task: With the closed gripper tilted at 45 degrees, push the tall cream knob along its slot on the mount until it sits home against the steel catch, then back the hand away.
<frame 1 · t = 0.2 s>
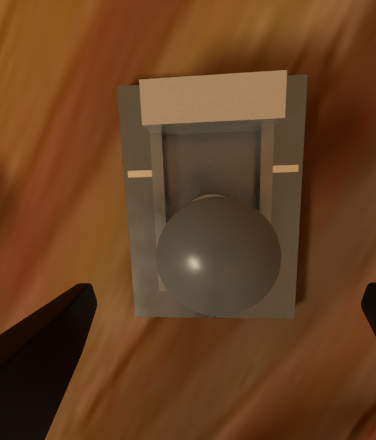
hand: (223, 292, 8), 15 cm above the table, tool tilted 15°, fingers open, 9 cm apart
knob mount: (211, 222, 23), on the table
knob: (213, 238, 17), point 6 cm above the table, slide at 0.0 cm
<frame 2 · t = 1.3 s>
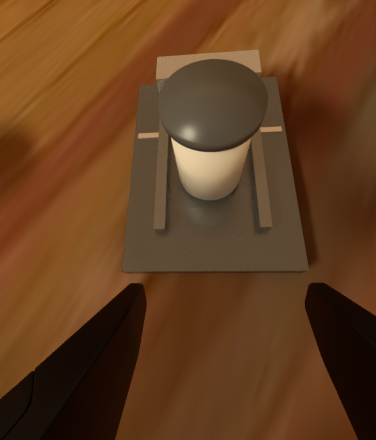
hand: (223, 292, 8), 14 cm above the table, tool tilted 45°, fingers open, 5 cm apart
knob mount: (209, 181, 24), on the table
knob: (210, 143, 18), point 6 cm above the table, slide at 0.0 cm
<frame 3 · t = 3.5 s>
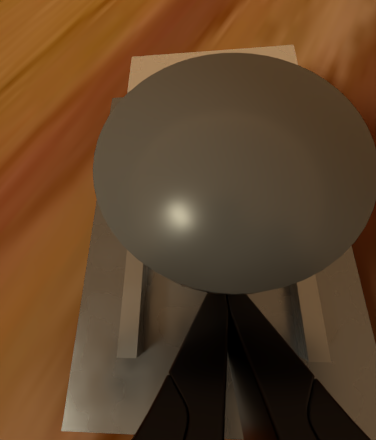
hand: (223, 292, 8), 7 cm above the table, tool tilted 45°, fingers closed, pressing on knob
knob mount: (214, 249, 15), on the table
knob: (218, 213, 10), point 6 cm above the table, slide at 0.2 cm, touching gripper
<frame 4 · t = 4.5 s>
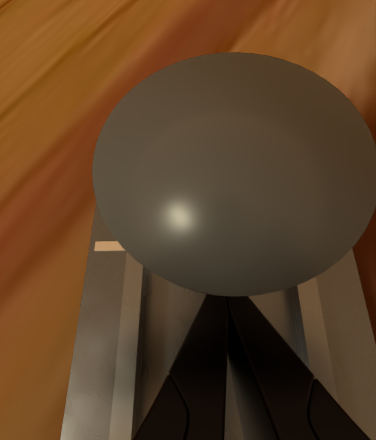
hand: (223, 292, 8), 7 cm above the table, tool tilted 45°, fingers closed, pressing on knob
knob mount: (217, 331, 14), on the table
knob: (218, 214, 10), point 6 cm above the table, slide at 5.2 cm, touching gripper
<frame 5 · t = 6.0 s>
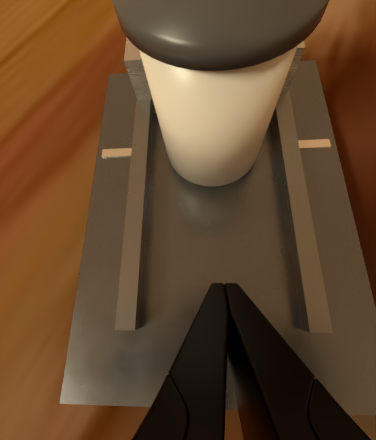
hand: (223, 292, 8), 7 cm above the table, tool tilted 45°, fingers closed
knob mount: (213, 226, 15), on the table
knob: (214, 88, 11), point 6 cm above the table, slide at 5.0 cm
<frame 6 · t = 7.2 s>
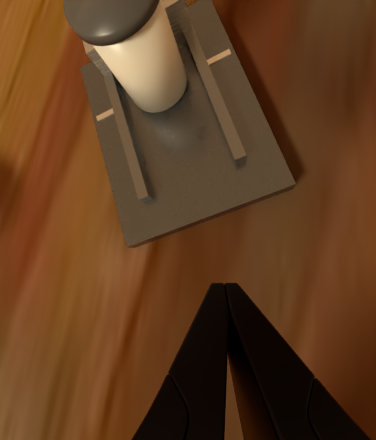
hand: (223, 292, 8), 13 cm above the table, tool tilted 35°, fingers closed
knob mount: (178, 135, 24), on the table
knob: (139, 47, 19), point 6 cm above the table, slide at 5.0 cm
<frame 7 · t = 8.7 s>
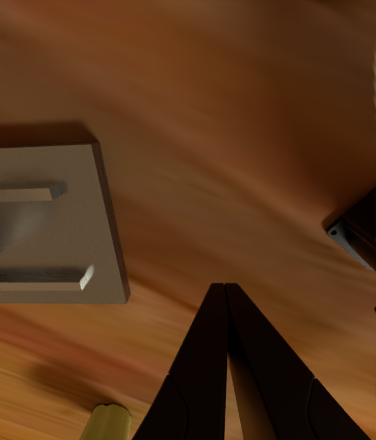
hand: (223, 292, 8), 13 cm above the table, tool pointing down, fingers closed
knob mount: (23, 231, 22), on the table
plant pot: (113, 411, 37), on the table
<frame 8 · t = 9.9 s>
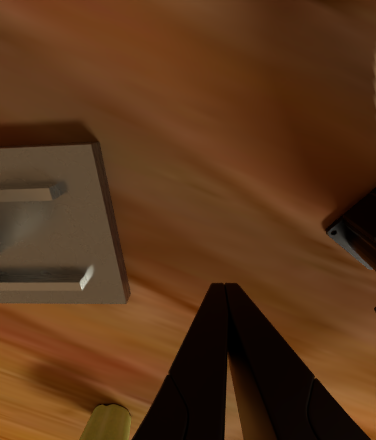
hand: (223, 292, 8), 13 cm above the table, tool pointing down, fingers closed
knob mount: (23, 231, 22), on the table
plant pot: (113, 411, 37), on the table
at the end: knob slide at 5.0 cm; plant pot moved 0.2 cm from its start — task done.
